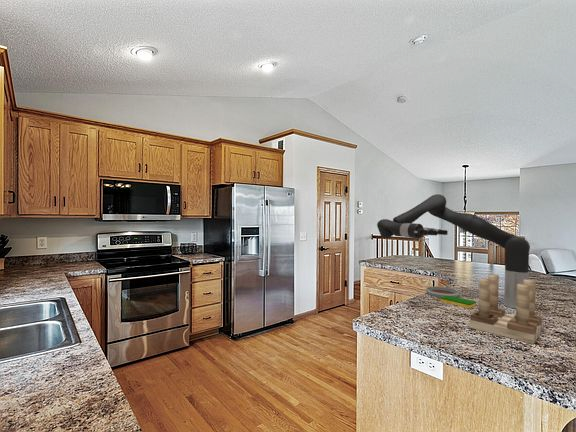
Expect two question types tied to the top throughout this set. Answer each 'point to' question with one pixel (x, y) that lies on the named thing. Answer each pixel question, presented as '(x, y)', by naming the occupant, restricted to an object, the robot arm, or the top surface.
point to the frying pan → (442, 291)
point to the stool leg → (484, 297)
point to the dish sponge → (458, 301)
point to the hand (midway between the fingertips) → (442, 232)
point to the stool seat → (511, 326)
